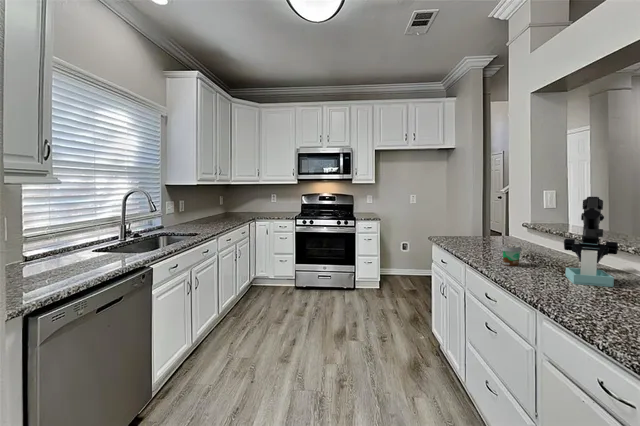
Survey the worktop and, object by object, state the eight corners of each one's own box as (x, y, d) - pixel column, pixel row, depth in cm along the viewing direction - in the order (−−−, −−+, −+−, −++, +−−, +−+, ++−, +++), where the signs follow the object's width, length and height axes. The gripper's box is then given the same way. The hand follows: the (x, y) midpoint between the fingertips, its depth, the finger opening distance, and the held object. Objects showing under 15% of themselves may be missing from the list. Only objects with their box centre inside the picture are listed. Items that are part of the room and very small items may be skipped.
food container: (513, 268, 177) (514, 248, 177) (501, 265, 182) (502, 246, 182) (526, 264, 184) (526, 246, 183) (514, 262, 189) (514, 244, 188)
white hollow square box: (580, 276, 151) (581, 251, 151) (580, 274, 156) (581, 249, 155) (596, 278, 148) (597, 252, 147) (596, 275, 152) (597, 250, 151)
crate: (565, 275, 161) (565, 267, 161) (601, 278, 156) (602, 269, 155) (573, 283, 148) (573, 274, 148) (613, 286, 143) (613, 277, 143)
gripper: (565, 220, 159) (561, 248, 151) (618, 223, 147) (618, 253, 139) (565, 235, 166) (562, 263, 158) (617, 239, 154) (616, 268, 146)
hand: (588, 261), depth 150 cm, fingers open, 5 cm apart
